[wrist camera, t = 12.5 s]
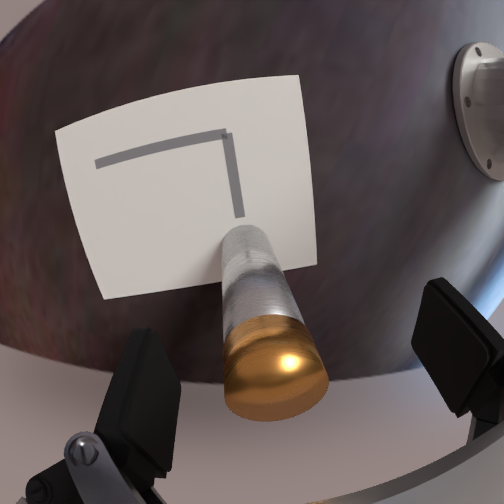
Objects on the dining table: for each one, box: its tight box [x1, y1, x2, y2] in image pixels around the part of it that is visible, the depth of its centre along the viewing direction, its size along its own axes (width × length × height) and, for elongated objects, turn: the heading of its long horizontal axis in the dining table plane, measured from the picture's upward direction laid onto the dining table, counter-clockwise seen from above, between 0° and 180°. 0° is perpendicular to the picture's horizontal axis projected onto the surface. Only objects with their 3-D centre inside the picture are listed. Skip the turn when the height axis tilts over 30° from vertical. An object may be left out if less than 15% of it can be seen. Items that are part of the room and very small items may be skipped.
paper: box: [55, 75, 317, 299], centre depth 16 cm, size 15×12×1 cm
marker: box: [221, 225, 329, 421], centre depth 13 cm, size 3×3×11 cm
